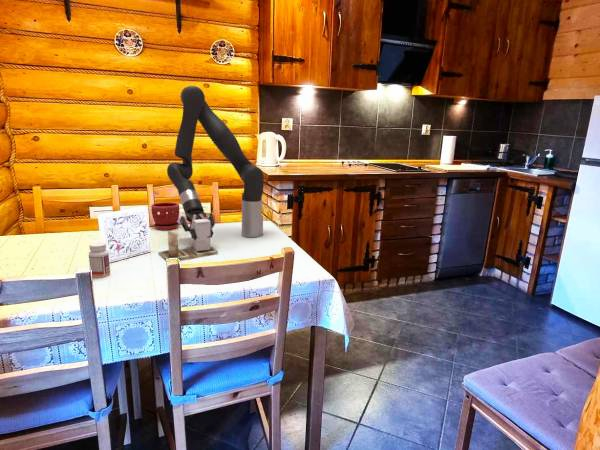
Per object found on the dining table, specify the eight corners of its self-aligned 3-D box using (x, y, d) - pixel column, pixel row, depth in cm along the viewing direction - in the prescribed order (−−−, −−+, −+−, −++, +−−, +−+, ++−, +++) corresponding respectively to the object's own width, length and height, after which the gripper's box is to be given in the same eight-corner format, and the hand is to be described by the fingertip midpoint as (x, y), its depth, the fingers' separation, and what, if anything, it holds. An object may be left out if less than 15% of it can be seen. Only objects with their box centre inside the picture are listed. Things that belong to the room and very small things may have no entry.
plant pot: (185, 227, 205) (184, 203, 202) (164, 232, 194) (163, 208, 191) (168, 222, 211) (167, 200, 208) (146, 228, 201) (145, 204, 198)
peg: (176, 254, 162) (175, 229, 160) (179, 256, 160) (178, 232, 157) (167, 255, 160) (166, 231, 158) (170, 258, 157) (169, 233, 155)
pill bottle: (106, 270, 147) (103, 240, 144) (113, 275, 143) (110, 244, 140) (87, 274, 142) (84, 243, 139) (95, 279, 138) (91, 247, 135)
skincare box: (196, 251, 163) (196, 222, 160) (193, 248, 167) (192, 219, 164) (211, 249, 167) (210, 220, 163) (207, 246, 170) (206, 218, 167)
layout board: (205, 247, 175) (205, 243, 174) (219, 256, 165) (219, 251, 164) (157, 256, 163) (157, 250, 162) (168, 266, 153) (168, 260, 152)
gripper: (176, 199, 163) (189, 235, 157) (209, 196, 172) (222, 230, 166) (172, 209, 169) (184, 244, 163) (204, 206, 177) (217, 239, 171)
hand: (203, 237), depth 164 cm, fingers closed on skincare box, 6 cm apart
